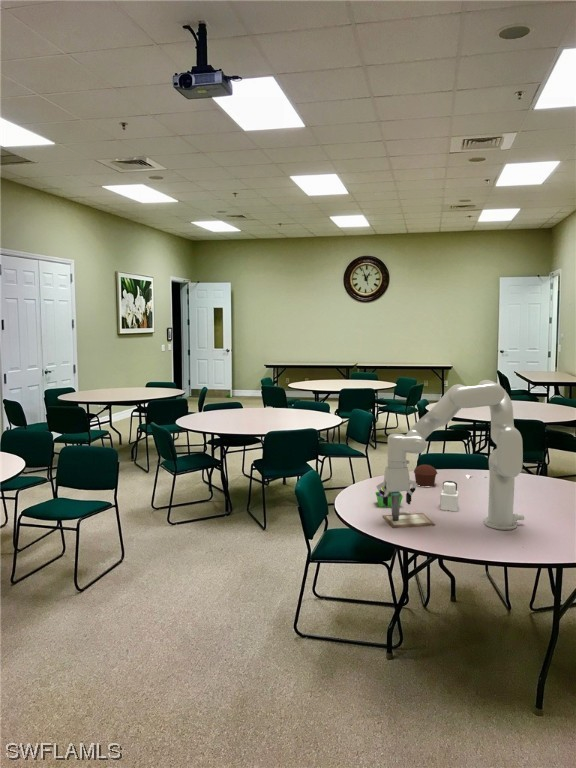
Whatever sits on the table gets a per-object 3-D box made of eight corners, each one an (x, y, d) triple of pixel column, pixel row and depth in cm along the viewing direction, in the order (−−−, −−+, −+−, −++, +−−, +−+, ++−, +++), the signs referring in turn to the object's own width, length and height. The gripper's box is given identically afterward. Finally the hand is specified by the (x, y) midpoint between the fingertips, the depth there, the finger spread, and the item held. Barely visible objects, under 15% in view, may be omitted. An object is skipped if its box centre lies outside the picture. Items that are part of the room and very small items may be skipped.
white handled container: (441, 504, 255) (442, 479, 254) (458, 506, 253) (458, 480, 251) (440, 509, 248) (441, 483, 247) (457, 511, 246) (458, 485, 245)
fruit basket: (377, 508, 251) (377, 483, 250) (374, 501, 260) (374, 477, 259) (403, 508, 251) (403, 483, 250) (399, 501, 260) (399, 477, 259)
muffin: (411, 486, 283) (411, 467, 281) (415, 480, 293) (415, 461, 291) (435, 489, 278) (436, 469, 277) (438, 482, 288) (439, 463, 287)
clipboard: (422, 514, 243) (422, 510, 243) (435, 525, 230) (435, 521, 230) (382, 516, 240) (382, 513, 240) (392, 527, 228) (392, 524, 227)
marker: (398, 518, 236) (397, 490, 235) (400, 521, 233) (400, 492, 232) (390, 518, 236) (390, 491, 234) (393, 521, 233) (392, 493, 231)
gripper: (413, 460, 237) (413, 500, 239) (373, 463, 234) (374, 503, 236) (420, 465, 229) (420, 505, 231) (379, 467, 227) (379, 508, 229)
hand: (397, 504), depth 234 cm, fingers open, 9 cm apart
